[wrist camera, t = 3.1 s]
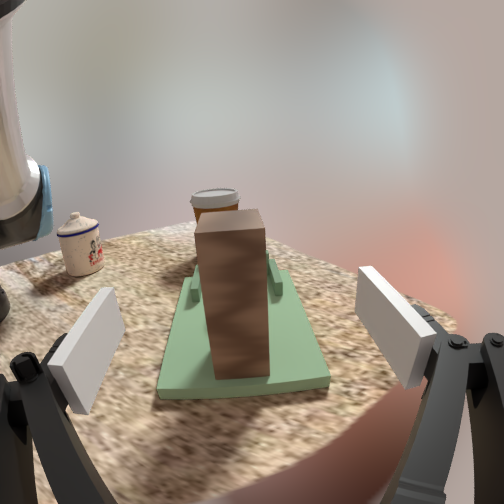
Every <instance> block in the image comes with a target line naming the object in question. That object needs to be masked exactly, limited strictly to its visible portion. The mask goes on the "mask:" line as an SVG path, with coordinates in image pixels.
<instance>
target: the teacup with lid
mask: <svg viewBox="0 0 504 504" xmlns="http://www.w3.org/2000/svg"><path fill="white" fill-rule="evenodd" d="M79 216H80V214H79V213H78V212H75V213H72V214H71V215H70V218H71V219H69V220H68V221H67V222H66V223H65V224H64V225H63V226H61V227H60V228H59V229H58V230H57V236H58V237H59V241H60V246H61V250H62V254H63V258H64V262H65V266H66V270H67V273H68V274H69V275H71V276H85V275H89V274H92V273H94V272H96V271H98V270H100V269H101V268H102V267H103V266H104V265H105V259H104V255H103V250H102V245H101V240H100V235H99V230H98V225H99V224H98V222H97V221H96V220H95V219H88V218H85V217H81V216H80V217H79Z"/></svg>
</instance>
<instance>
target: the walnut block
mask: <svg viewBox="0 0 504 504" xmlns="http://www.w3.org/2000/svg"><path fill="white" fill-rule="evenodd" d="M194 236H195V245H196V253H197V261H198V269H199V276H200V284H201V291H202V298H203V305H204V312H205V319H206V325H207V332H208V338H209V344H210V350H211V356H212V362H213V368H214V374H215V379H216V380H227V379H242V378H255V377H266V376H270V355H269V322H268V292H267V264H266V239H265V227H264V224H263V221H262V219H261V216H260V214H259V212H258V209H248V210H233V211H220V212H208V213H201V215H200V218H199V221H198V224H197V227H196V230H195V232H194Z"/></svg>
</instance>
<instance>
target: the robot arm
mask: <svg viewBox="0 0 504 504" xmlns="http://www.w3.org/2000/svg"><path fill="white" fill-rule="evenodd" d="M26 1H27V0H0V250H2V249H5V248H9V247H12V246H15V245H18V244H22V243H25V242H29V241H36V240H38V239H39V238H41V237H44V236H47V235H49V234H50V233H51V232H52V229H53V209H52V197H51V187H50V178H49V171H48V168H47V167H46V166H44V165H43V166H40V165H37V164H36V162H35V161H34V159H33V158H31V157H30V156H29V155H27V154H25V150H24V145H23V140H22V134H21V128H20V123H19V117H18V110H17V102H16V94H15V85H14V73H13V57H12V17H13V15H14V14H15V13H16V12H17V11H18V10H19V9H20V8H21V7H22V6H23V5H24V4H25V2H26ZM9 309H10V303H9V300H8V297H7V294H6V292H5V291H4V290H3V289H2V287H1V286H0V322H1V321H2V320H3V319H4V317H5V316H6V315H7V313H8V312H9ZM355 313H356V314H357V316H358V317H359V319H360V320H361V322H362V323H363V325H364V326H365V328H366V329H367V331H368V332H369V334H370V335H371V337H372V338H373V340H374V341H375V343H376V344H377V346H378V348H379V349H380V351H381V352H382V354H383V355H384V357H385V358H386V360H387V362H388V363H389V365H390V366H391V368H392V369H393V371H394V373H395V374H396V376H397V377H398V379H399V381H400V382H401V384H402V385H403V387H404V389H410V388H413V387H416V386H420V384H421V381H422V379H423V376H425V377H426V378H427V380H428V382H427V385H426V388H425V390H424V393H423V395H422V398H421V399H422V401H421V405H420V408H419V411H418V414H417V417H416V420H415V423H414V426H413V428H412V431H411V434H410V437H409V439H408V442H407V444H406V447H405V450H404V452H403V454H402V457H401V460H400V462H399V464H398V466H397V469H396V471H395V473H394V475H393V478H392V480H391V482H390V484H389V486H388V488H387V491H386V493H385V494H384V497H383V498H382V500H381V502H380V504H445V500H446V494H445V493H444V492H443V491H444V487H445V483H446V480H447V477H448V473H449V470H450V467H451V462H452V459H453V455H454V451H455V447H456V442H457V438H458V433H459V429H460V423H461V418H462V412H463V406H464V400H465V393H466V395H467V401H468V408H469V416H470V424H471V433H472V443H473V459H474V486H475V487H474V489H475V490H474V493H475V494H474V496H475V497H474V504H504V336H502V335H500V334H498V333H488V334H486V335H485V337H484V338H483V342H482V343H478V344H477V343H476V344H470V343H469V342H468V341H467V339H466V338H464V337H463V336H460V335H456V334H448V333H447V332H446V331H445V330H444V329H443V328H442V326H441V325H440V324H439V323H438V322H437V321H436V320H434V318H433V317H432V316H430V314H429V313H428V312H427V311H426V310H425V309H424V308H422V307H420V306H418V305H416V304H414V305H410V304H409V303H408V302H407V301H406V300H405V299H404V298H403V297H402V296H401V295H400V294H399V293H398V292H397V291H396V290H395V289H394V288H393V287H392V286H391V285H390V284H389V283H388V282H387V281H386V280H385V279H384V278H383V277H382V276H381V275H380V274H379V273H378V272H377V271H376V270H375V269H374V268H373V267H372V266H365V267H359V270H358V282H357V293H356V302H355ZM124 332H125V327H124V323H123V320H122V316H121V313H120V309H119V306H118V302H117V298H116V295H115V291H114V287H103V288H101V289H100V290H99V291H98V293H97V294H96V295H95V297H94V298H93V299H92V301H91V302H90V303H89V305H88V306H87V307H86V309H85V310H84V311H83V313H82V314H81V316H80V317H79V318H78V320H77V321H76V323H75V324H74V325H73V327H72V328H71V330H70V331H69V333H64V334H63V335H62V336H60V337H59V338H58V339H57V340H56V341H55V343H54V344H53V347H51V349H50V350H49V352H48V353H47V354H46V356H45V357H44V359H43V360H42V362H41V363H40V364H39V362H38V359H37V357H36V356H35V354H34V353H32V352H24V353H21V354H19V355H17V356H16V357H15V358H13V359H12V361H11V363H10V368H11V370H12V372H13V374H14V376H15V377H16V379H17V381H13V382H8V381H7V380H6V378H5V376H4V375H3V374H0V504H38V500H37V493H36V485H35V475H34V463H33V445H32V438H33V441H34V444H35V447H36V450H37V453H38V456H39V458H40V461H41V464H42V467H43V469H44V472H45V474H46V477H47V479H48V482H49V484H50V487H51V489H52V491H53V494H54V496H55V498H56V500H57V502H58V504H118V503H117V502H116V500H115V499H114V497H113V496H112V494H111V493H110V491H109V490H108V488H107V487H106V485H105V483H104V482H103V480H102V478H101V477H100V475H99V473H98V472H97V470H96V468H95V467H94V465H93V463H92V461H91V459H90V458H89V456H88V454H87V452H86V450H85V448H84V446H83V445H82V443H81V441H80V439H79V437H78V435H77V433H76V431H75V429H74V426H73V424H72V422H71V420H70V418H69V416H68V414H67V412H66V411H65V410H66V407H67V405H68V404H69V406H70V408H71V410H72V411H73V413H76V414H84V415H89V412H90V410H91V407H92V405H93V402H94V400H95V397H96V395H97V393H98V390H99V388H100V386H101V383H102V381H103V378H104V376H105V374H106V372H107V369H108V367H109V365H110V362H111V360H112V358H113V356H114V354H115V351H116V349H117V347H118V345H119V343H120V340H121V338H122V336H123V334H124Z"/></svg>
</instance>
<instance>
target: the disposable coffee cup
mask: <svg viewBox="0 0 504 504" xmlns="http://www.w3.org/2000/svg"><path fill="white" fill-rule="evenodd" d="M239 199H240V196H239V194H238V191H237V190H236V189H231V188H216V189H207V190H202V191H198V192H195V193H193V194H192V198H191V201H190V203H191V204H192V206H193V209H194V213H195V217H196V222H197V224H198V221H199V218H200V215H201V213H208V212H220V211H233V210H238V203H239Z"/></svg>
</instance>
